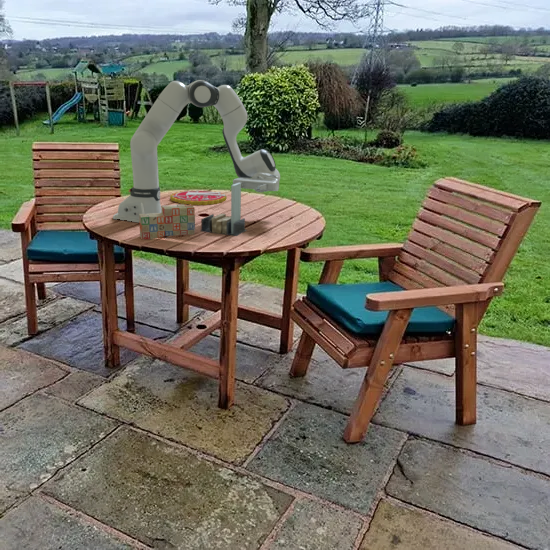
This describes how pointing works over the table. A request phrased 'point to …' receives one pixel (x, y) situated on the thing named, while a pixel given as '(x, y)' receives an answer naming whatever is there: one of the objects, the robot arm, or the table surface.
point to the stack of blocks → (168, 222)
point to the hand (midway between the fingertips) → (248, 187)
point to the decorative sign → (198, 197)
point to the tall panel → (235, 204)
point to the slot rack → (237, 226)
